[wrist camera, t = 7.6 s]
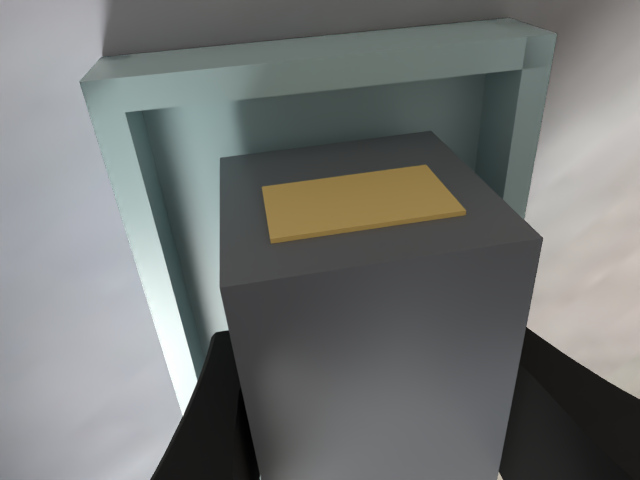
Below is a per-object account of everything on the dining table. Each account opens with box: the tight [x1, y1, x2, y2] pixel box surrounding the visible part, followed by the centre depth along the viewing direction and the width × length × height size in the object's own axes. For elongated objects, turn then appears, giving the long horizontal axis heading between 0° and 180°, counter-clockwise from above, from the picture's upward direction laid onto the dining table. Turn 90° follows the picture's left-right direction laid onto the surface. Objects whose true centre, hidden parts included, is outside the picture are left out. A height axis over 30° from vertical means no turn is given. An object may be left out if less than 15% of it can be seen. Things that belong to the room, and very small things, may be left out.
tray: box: [80, 18, 557, 480], centre depth 13 cm, size 12×9×2 cm
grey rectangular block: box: [219, 131, 543, 480], centre depth 11 cm, size 8×4×4 cm, turn 4°
